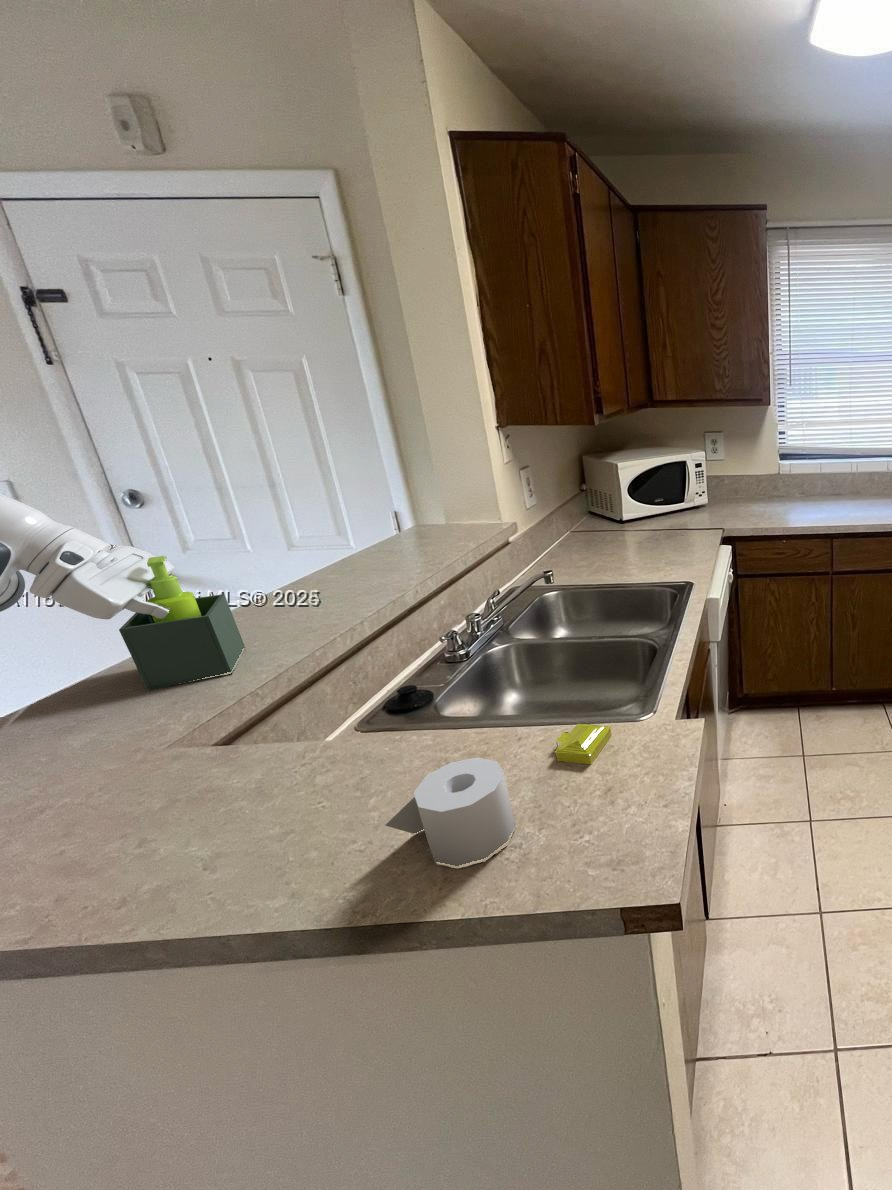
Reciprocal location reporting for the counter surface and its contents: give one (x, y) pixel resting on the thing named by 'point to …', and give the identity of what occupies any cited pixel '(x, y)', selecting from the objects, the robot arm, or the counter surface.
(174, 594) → the soap dispenser
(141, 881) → the counter surface
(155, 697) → the counter surface
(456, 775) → the toilet tissue
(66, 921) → the counter surface
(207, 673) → the trash bin
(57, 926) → the counter surface
